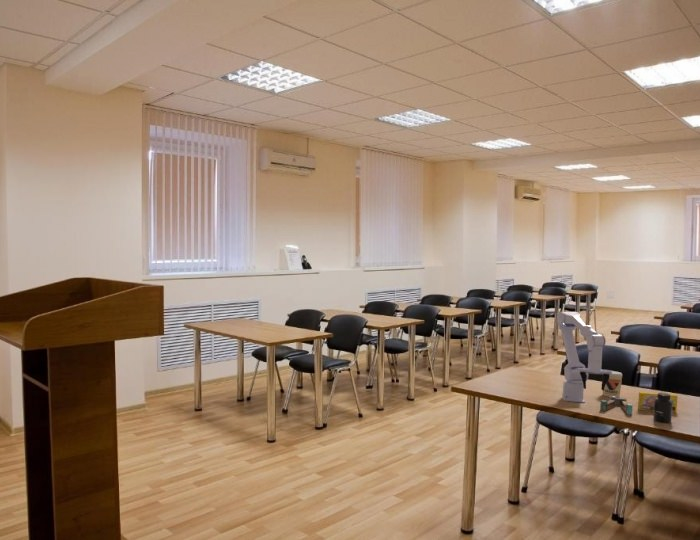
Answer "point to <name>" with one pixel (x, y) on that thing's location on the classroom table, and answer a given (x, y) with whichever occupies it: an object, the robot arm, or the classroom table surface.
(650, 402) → the candy box
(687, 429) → the classroom table surface
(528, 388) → the classroom table surface
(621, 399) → the tongs base
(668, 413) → the supplement bottle
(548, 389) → the classroom table surface
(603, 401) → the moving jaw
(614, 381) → the coffee cup
